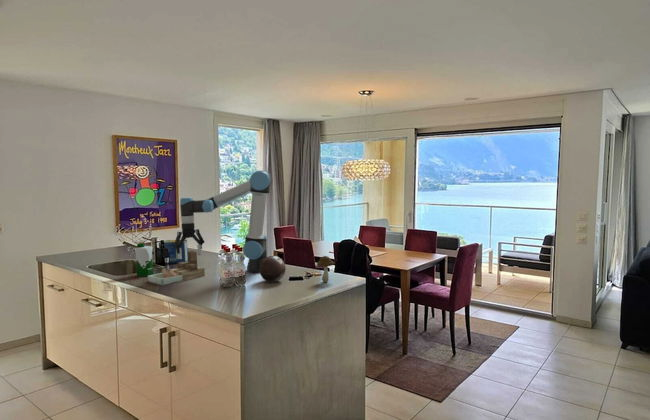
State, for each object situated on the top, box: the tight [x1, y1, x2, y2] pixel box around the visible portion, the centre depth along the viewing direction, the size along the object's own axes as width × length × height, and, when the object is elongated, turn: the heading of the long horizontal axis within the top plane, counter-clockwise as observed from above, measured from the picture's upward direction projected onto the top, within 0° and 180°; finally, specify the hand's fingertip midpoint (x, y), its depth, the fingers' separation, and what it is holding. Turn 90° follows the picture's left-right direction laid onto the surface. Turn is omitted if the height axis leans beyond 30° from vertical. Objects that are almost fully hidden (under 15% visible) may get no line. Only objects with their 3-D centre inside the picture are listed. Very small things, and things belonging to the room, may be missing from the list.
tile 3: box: [161, 267, 168, 276], centre depth 250 cm, size 4×4×2 cm
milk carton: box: [134, 243, 154, 278], centre depth 262 cm, size 9×9×20 cm
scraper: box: [176, 250, 199, 271], centre depth 258 cm, size 16×7×10 cm, turn 50°
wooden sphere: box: [259, 255, 287, 283], centre depth 240 cm, size 15×15×15 cm
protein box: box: [163, 239, 189, 264], centre depth 305 cm, size 10×15×16 cm
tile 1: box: [167, 270, 177, 278], centre depth 245 cm, size 4×4×2 cm
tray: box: [147, 271, 184, 287], centre depth 246 cm, size 16×13×4 cm
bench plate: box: [168, 266, 206, 282], centre depth 257 cm, size 15×16×5 cm
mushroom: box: [316, 255, 335, 283], centre depth 238 cm, size 9×11×15 cm
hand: (190, 256), depth 258 cm, fingers open, 13 cm apart
